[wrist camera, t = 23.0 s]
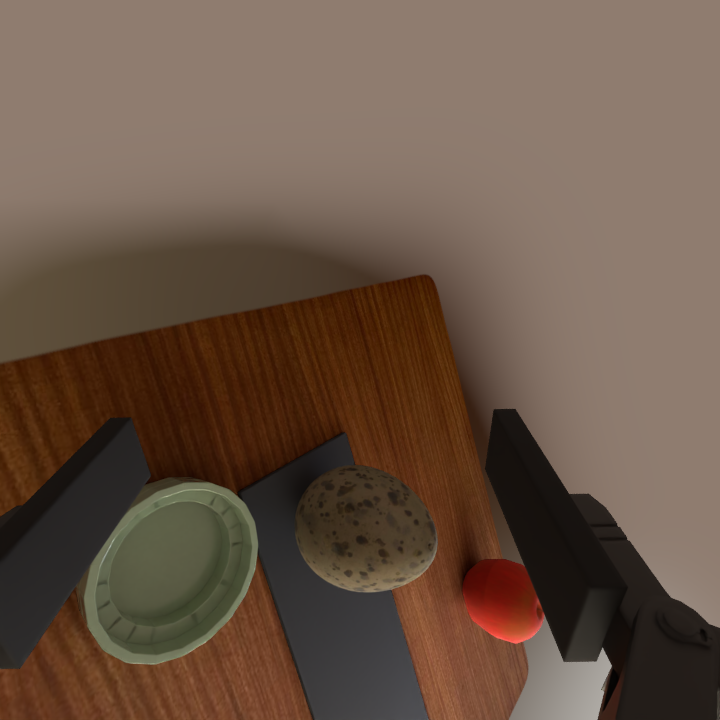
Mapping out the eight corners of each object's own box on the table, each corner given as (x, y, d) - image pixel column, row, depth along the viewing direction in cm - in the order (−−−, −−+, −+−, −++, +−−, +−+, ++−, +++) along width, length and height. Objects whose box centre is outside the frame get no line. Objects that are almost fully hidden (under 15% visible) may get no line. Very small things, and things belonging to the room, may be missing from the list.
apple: (469, 637, 60) (547, 673, 51) (444, 593, 57) (523, 624, 48) (493, 579, 66) (566, 602, 58) (472, 536, 63) (546, 555, 55)
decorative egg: (343, 566, 44) (460, 616, 33) (258, 567, 37) (372, 631, 26) (359, 467, 47) (472, 484, 36) (284, 451, 40) (396, 466, 29)
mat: (237, 492, 37) (240, 492, 36) (342, 432, 46) (346, 432, 46) (371, 896, 43) (375, 901, 42) (440, 769, 52) (443, 772, 52)
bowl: (132, 455, 31) (147, 459, 28) (256, 500, 38) (278, 507, 35) (34, 631, 26) (40, 658, 23) (197, 646, 33) (218, 668, 30)
